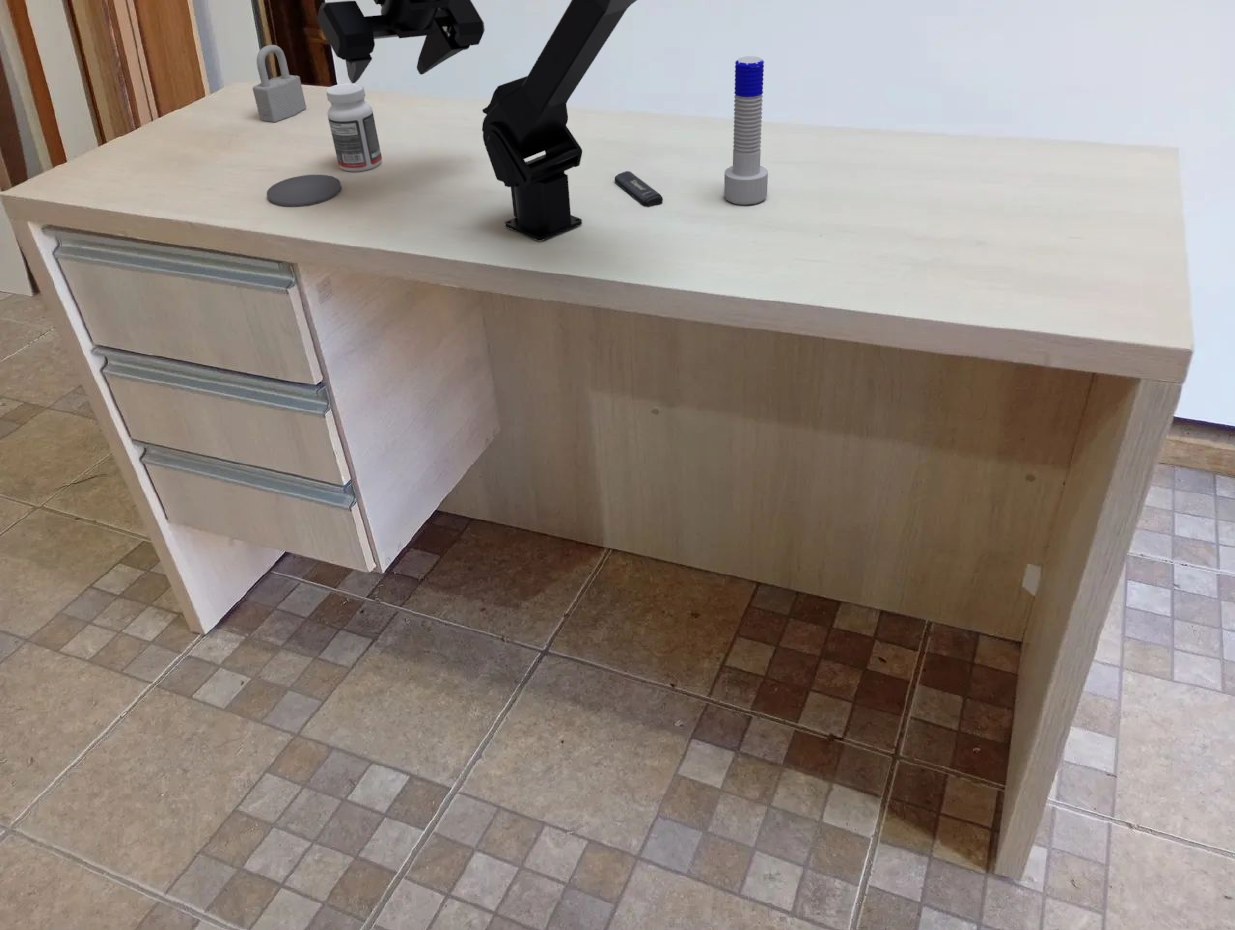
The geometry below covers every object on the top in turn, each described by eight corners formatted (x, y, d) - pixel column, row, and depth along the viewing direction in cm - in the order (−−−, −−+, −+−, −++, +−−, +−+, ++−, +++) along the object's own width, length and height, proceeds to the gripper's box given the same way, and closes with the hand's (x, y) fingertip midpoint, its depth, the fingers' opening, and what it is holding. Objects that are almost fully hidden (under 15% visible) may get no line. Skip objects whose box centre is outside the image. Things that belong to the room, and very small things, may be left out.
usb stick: (613, 184, 127) (612, 172, 126) (632, 180, 127) (631, 168, 127) (645, 211, 120) (644, 198, 119) (665, 206, 120) (664, 194, 119)
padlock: (290, 106, 158) (274, 38, 152) (310, 109, 156) (294, 40, 150) (257, 120, 153) (239, 50, 147) (277, 123, 151) (260, 53, 145)
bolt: (770, 191, 122) (761, 207, 118) (729, 188, 123) (719, 204, 119) (777, 54, 112) (767, 67, 108) (732, 52, 114) (721, 65, 110)
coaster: (355, 190, 128) (354, 186, 127) (290, 212, 123) (289, 208, 123) (318, 173, 133) (317, 169, 133) (255, 194, 128) (253, 189, 128)
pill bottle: (368, 154, 138) (354, 78, 133) (390, 164, 135) (376, 87, 129) (330, 165, 136) (314, 89, 130) (352, 176, 132) (336, 98, 126)
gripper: (460, -86, 117) (423, 16, 130) (308, -82, 106) (283, 29, 119) (506, -10, 115) (463, 87, 128) (355, 2, 105) (325, 106, 117)
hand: (386, 75), depth 123 cm, fingers open, 9 cm apart
